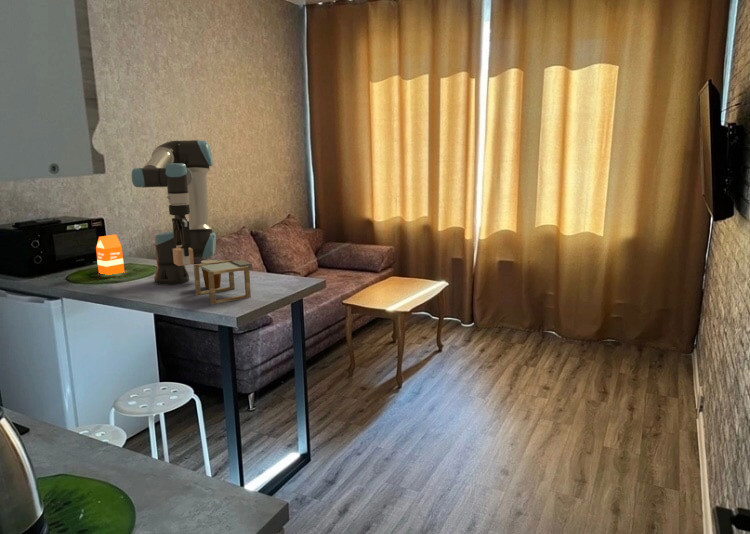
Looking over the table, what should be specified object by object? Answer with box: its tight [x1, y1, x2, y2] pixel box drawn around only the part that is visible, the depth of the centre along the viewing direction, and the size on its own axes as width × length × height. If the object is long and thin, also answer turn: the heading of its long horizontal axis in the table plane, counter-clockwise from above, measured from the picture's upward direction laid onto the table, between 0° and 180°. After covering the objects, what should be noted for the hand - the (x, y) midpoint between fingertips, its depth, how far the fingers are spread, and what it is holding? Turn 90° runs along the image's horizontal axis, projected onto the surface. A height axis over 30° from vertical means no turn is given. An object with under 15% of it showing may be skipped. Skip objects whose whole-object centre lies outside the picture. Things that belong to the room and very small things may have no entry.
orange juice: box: [95, 233, 125, 275], centre depth 271 cm, size 8×9×20 cm
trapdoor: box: [200, 259, 253, 272], centre depth 235 cm, size 15×18×2 cm
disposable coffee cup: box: [200, 258, 222, 290], centre depth 249 cm, size 10×10×12 cm
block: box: [173, 248, 195, 266], centre depth 221 cm, size 6×6×6 cm
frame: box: [193, 259, 252, 305], centre depth 234 cm, size 19×17×13 cm
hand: (183, 262), depth 222 cm, fingers closed on block, 6 cm apart
